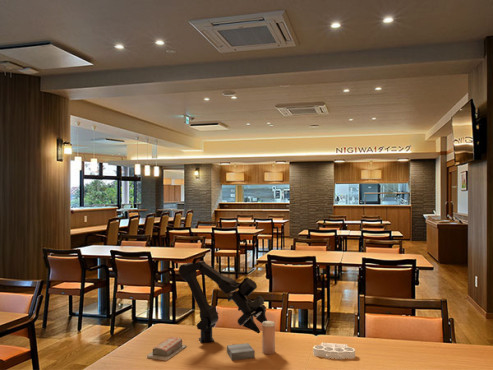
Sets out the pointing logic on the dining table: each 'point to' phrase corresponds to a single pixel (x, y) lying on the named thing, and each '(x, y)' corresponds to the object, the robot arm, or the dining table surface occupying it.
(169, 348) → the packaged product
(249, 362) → the dining table surface
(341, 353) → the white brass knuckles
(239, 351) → the riser block
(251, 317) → the robot arm
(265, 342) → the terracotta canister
